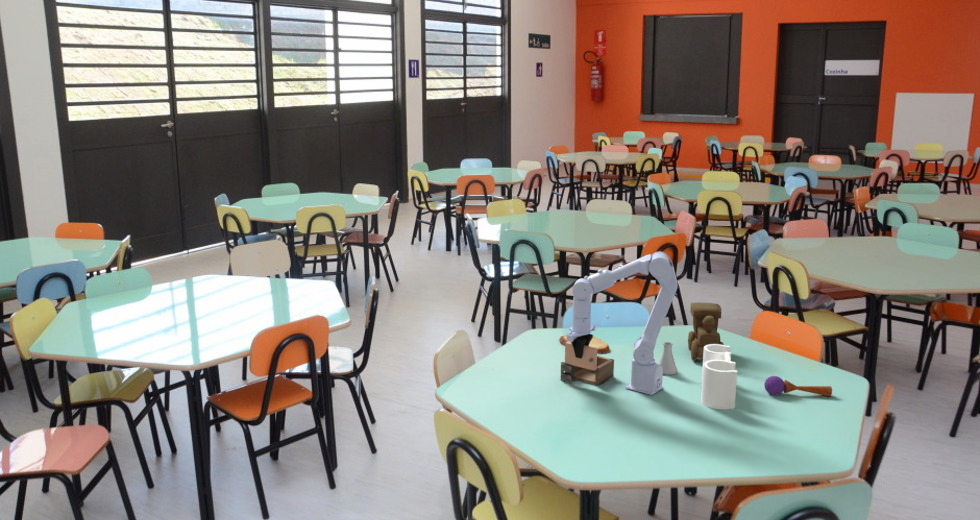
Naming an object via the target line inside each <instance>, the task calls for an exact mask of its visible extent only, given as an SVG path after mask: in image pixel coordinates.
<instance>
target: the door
mask: <svg viewBox="0 0 980 520" xmlns="http://www.w3.org/2000/svg"><path fill="white" fill-rule="evenodd" d="M597 356H598V353H597V348H593V347H589V346H585V345H584V350H583V357H582V358H581V359H580V358H576V357H575V352H574V348H573V346H572V343H571V342H566V343H565V346H564V362H565V363H566V364H570V365H574V366H578V367H582V368H586V369H590V370H596V369H597Z"/></svg>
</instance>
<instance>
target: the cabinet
mask: <svg viewBox="0 0 980 520" xmlns="http://www.w3.org/2000/svg"><path fill="white" fill-rule="evenodd" d="M614 368H615V359H613V358H608V357H606V356H601V355H597V369H596V370H590V369H586V368H582V367H578V366H574V365H570V364H566V363H565V361H561V362H560V381H562V382H566V383H570V384H571V383H572V380H573V381H577V382H582V383H586V384H590V385H594V386H597V387H598V386H599V387H600V386H601V385H602V384H604V383H606V382H607V381H609V380H610V379H612V378H613V377H614V375H615V373H614V372H615V370H614Z"/></svg>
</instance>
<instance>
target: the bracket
mask: <svg viewBox="0 0 980 520" xmlns="http://www.w3.org/2000/svg"><path fill="white" fill-rule="evenodd" d="M701 370H702V371H701V382H700V383H701V395H700V397H701V398H700V402H701V404H702V405H703V406H705V407H707V408H710V409H713V410H715V409H716V410H734V409H735V404H736V395H737V394H736V392H737V380H738V370H737V369H736V361H732V352H731V346H730V345H725V344H724V345H720V344H709V345H706V346H704V352H703V358H702V369H701Z"/></svg>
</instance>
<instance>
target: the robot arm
mask: <svg viewBox="0 0 980 520" xmlns="http://www.w3.org/2000/svg"><path fill="white" fill-rule="evenodd" d="M638 273H640V274H644V275H647V276H648V275H649V273H650V274H651V277H653V278H655V279H656V281H657V282H658V283H659V286H660V289H659V291H658V294H657V297H656V298H655V302H654V304H653V307H652V309H651V312H650V313H649V316H648V319H647V320H646V321H647V322H646V324H645V327H644V330H643V331H642V332H641V334H640V336H639V338H637V339H636V340H635V342H634V345H633V348H634V349H633V355H632V356H633V357H632V359H631V369H630V370H631V376H630V383H629V384H628V385H626V386H625V389H626V390H630V391H631V390H632V391H635V392H639V393H643V394H646V395H650V396H653V395H655V394H656V393H657V392H659V391H660V390H662V389H663V388H664V386H663V380H664V379H663V376H664V374H663V368H662V366H661V365H658V364H659V363H657V362H656V360H655V358H654V356H655V354H654V349H655V347H656V345H657V340H658V337H659V334H660V332H661V329H662V327H663V325H664V322H665V320H666V318H667V314H668V312H669V309H670V307H671V304H672V302H673V299H674V297H675V295H676V292H677V290H678V281H677V280H678V279H677V276H676V271H675V267H674V264H673V261H672V259H671V258H670V256H669V255H668V254H667V253H666V252H664V251H655V252H654V253H652V254H651V253H650V254H646V255H644V256H642V257H639V258H637V259H635V260H633V261H631V262H629V263H628V262H627V264H624V265H622V266H620V267H618V268H616V269H613V270H609V269H606V268H605V269H601V268H600V269H599V270H597V272H596V273H593V274H591V275H589V276H588V275H585V276H584V277H583V278H579V279H577V280H576V281H575V283H574V284H573V287H572V295H573V298H572V299H573V302H572V325H571V326H570V327H569V329H568V330H569V332H568V333H567V334H568V335H567V341H570V342H571V343H572V346H573V348H574V352H575V357H576V358H580V359H581V358H582V357H583V350H584V345H585V346H589V343H590V341H591V340H592V338H593V336H594V334H592V331H596V324H594V323H591V319H592V318H591V313H592V303H591V302H592V301H591V295H592V294H597V293H600V292H601V291H604V290H607V289H609V288H612V287H614V285H615V283H616V281H618V280H621V279H624V278H628V277H630V276H633V275H636V274H638Z"/></svg>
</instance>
